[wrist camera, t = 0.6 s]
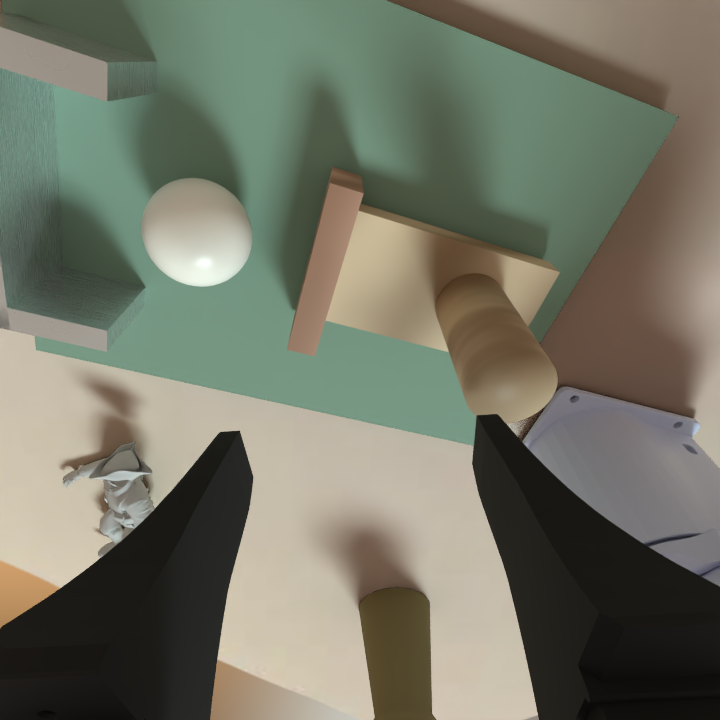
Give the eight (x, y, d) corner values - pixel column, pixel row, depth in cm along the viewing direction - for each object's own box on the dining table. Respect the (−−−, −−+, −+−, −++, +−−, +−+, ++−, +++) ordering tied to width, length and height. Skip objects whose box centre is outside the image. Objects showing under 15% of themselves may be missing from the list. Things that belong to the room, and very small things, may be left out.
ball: (267, 185, 18) (250, 213, 15) (251, 274, 20) (232, 315, 17) (166, 154, 18) (124, 176, 14) (160, 249, 20) (121, 288, 16)
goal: (157, 61, 16) (107, 62, 13) (144, 306, 21) (106, 351, 18) (18, 14, 15) (-75, 2, 12) (40, 280, 20) (-19, 323, 17)
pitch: (663, 113, 18) (679, 116, 17) (473, 434, 28) (476, 446, 27) (7, -147, 14) (-15, -160, 13) (47, 339, 23) (36, 349, 22)
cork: (360, 587, 37) (364, 763, 27) (434, 587, 37) (463, 762, 28) (357, 625, 40) (359, 793, 31) (425, 625, 40) (447, 792, 31)
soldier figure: (79, 519, 33) (13, 443, 24) (145, 481, 35) (108, 398, 26) (129, 612, 30) (76, 567, 21) (196, 564, 33) (176, 504, 23)
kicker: (560, 239, 20) (655, 321, 14) (489, 367, 23) (538, 477, 17) (332, 166, 18) (323, 222, 12) (293, 317, 21) (272, 420, 15)
